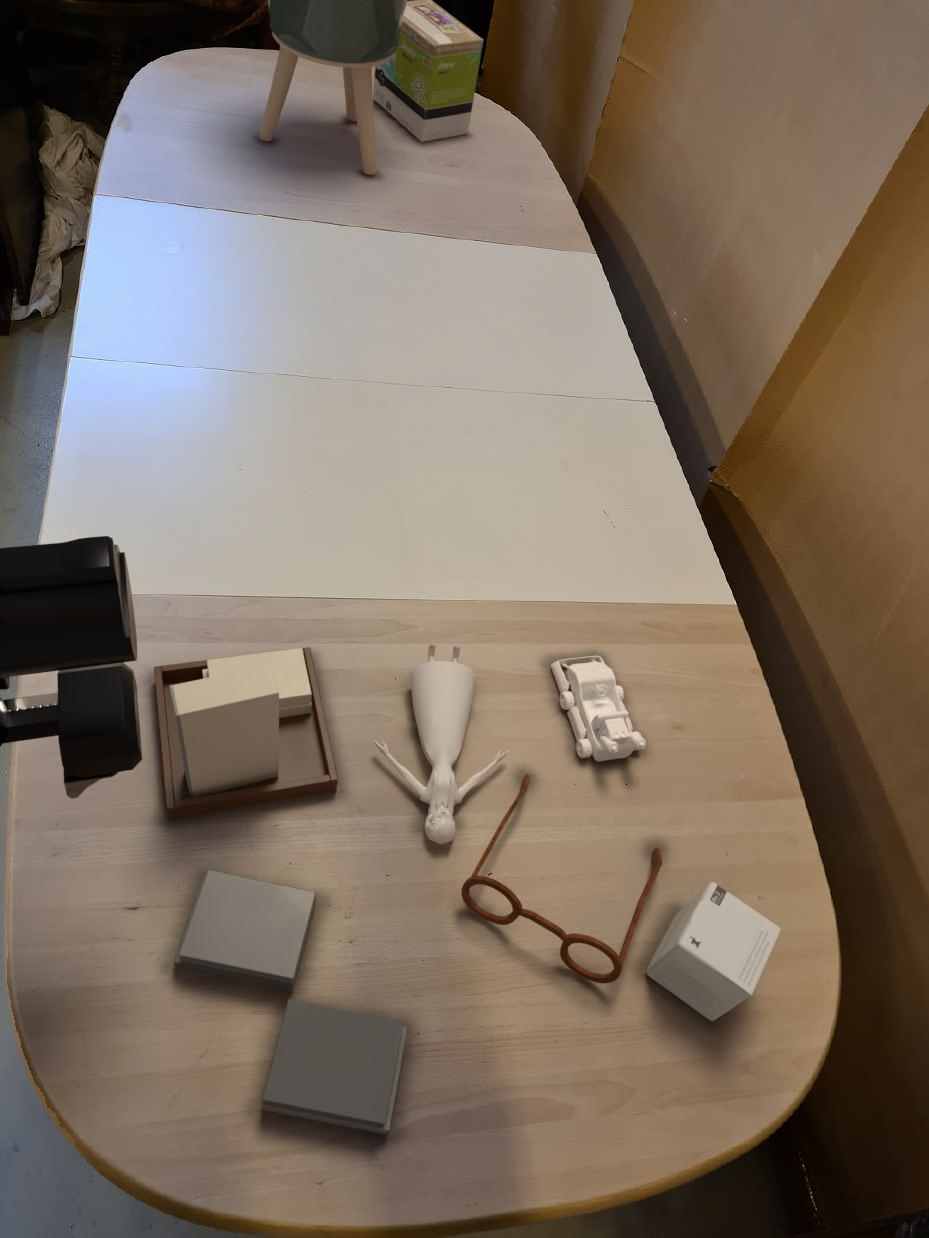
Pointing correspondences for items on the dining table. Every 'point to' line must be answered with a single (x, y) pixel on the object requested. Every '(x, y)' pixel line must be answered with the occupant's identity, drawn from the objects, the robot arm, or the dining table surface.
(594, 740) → the toy car
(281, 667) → the white book stack
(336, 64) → the planter
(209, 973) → the grey book stack left
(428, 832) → the woman figurine
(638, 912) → the glasses
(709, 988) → the white cardboard box
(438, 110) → the tea box
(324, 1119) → the dark grey book stack
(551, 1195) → the dining table surface
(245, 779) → the white book
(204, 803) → the book tray
